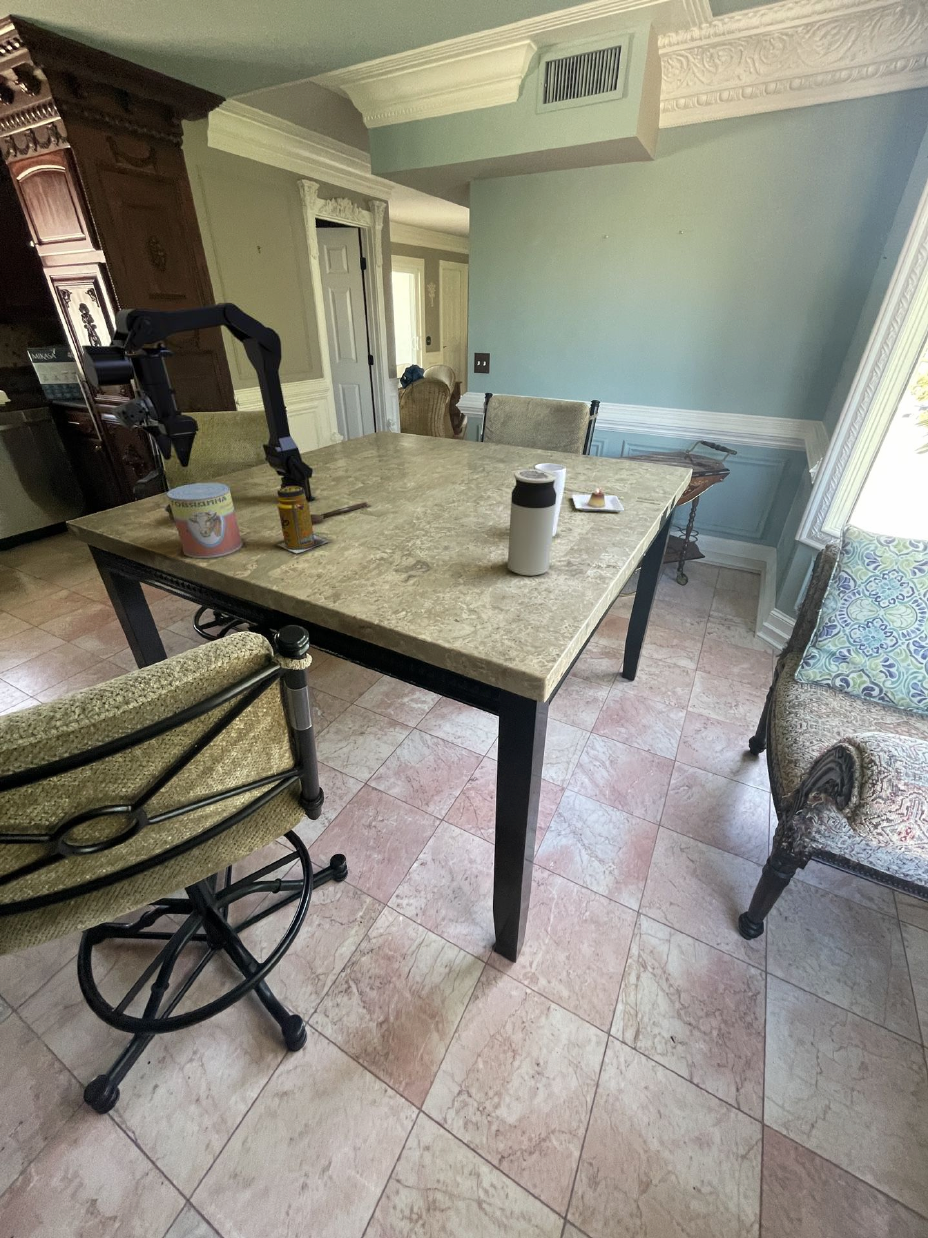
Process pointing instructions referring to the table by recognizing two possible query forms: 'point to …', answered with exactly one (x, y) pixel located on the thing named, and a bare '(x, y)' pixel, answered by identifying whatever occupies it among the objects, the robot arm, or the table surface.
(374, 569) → the table surface
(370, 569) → the table surface
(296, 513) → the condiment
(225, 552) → the canned food
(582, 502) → the dessert
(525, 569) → the travel mug
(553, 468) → the drinking glass
